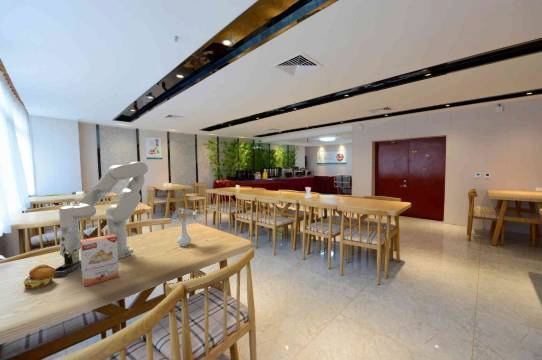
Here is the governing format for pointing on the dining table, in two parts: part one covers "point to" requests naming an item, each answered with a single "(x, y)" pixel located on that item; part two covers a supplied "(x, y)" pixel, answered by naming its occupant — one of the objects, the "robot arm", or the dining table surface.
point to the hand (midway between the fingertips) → (72, 261)
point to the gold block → (73, 258)
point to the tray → (66, 269)
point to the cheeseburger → (39, 276)
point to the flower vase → (184, 225)
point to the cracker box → (99, 259)
